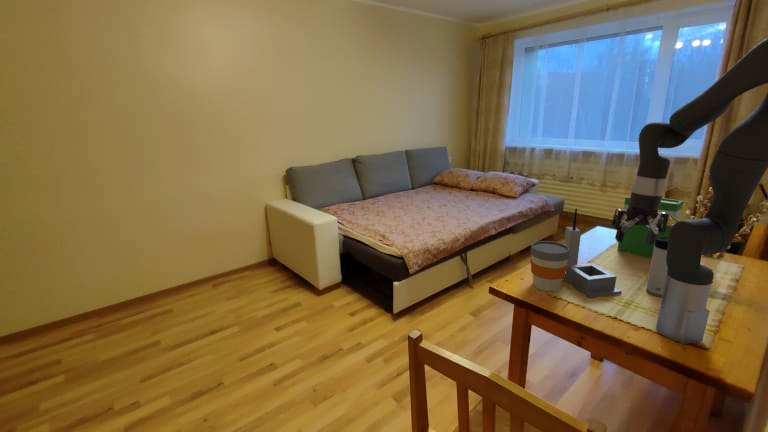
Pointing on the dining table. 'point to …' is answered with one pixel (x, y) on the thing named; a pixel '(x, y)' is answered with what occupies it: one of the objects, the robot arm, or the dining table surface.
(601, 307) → the dining table surface
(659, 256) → the travel mug
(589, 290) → the box
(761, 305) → the dining table surface
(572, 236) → the vintage mobile phone
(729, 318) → the dining table surface
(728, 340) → the dining table surface
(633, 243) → the hardback book
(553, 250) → the reusable coffee cup
